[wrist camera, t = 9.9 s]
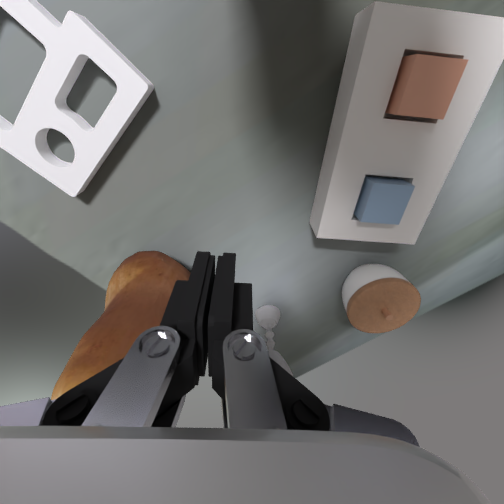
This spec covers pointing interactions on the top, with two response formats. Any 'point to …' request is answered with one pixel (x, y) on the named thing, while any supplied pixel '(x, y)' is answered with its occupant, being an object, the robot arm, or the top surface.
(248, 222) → the top surface
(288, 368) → the chalice
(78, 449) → the robot arm
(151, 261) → the butternut squash
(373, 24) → the key panel
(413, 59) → the terracotta key
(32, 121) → the holder
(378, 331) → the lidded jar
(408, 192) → the slate-blue key
